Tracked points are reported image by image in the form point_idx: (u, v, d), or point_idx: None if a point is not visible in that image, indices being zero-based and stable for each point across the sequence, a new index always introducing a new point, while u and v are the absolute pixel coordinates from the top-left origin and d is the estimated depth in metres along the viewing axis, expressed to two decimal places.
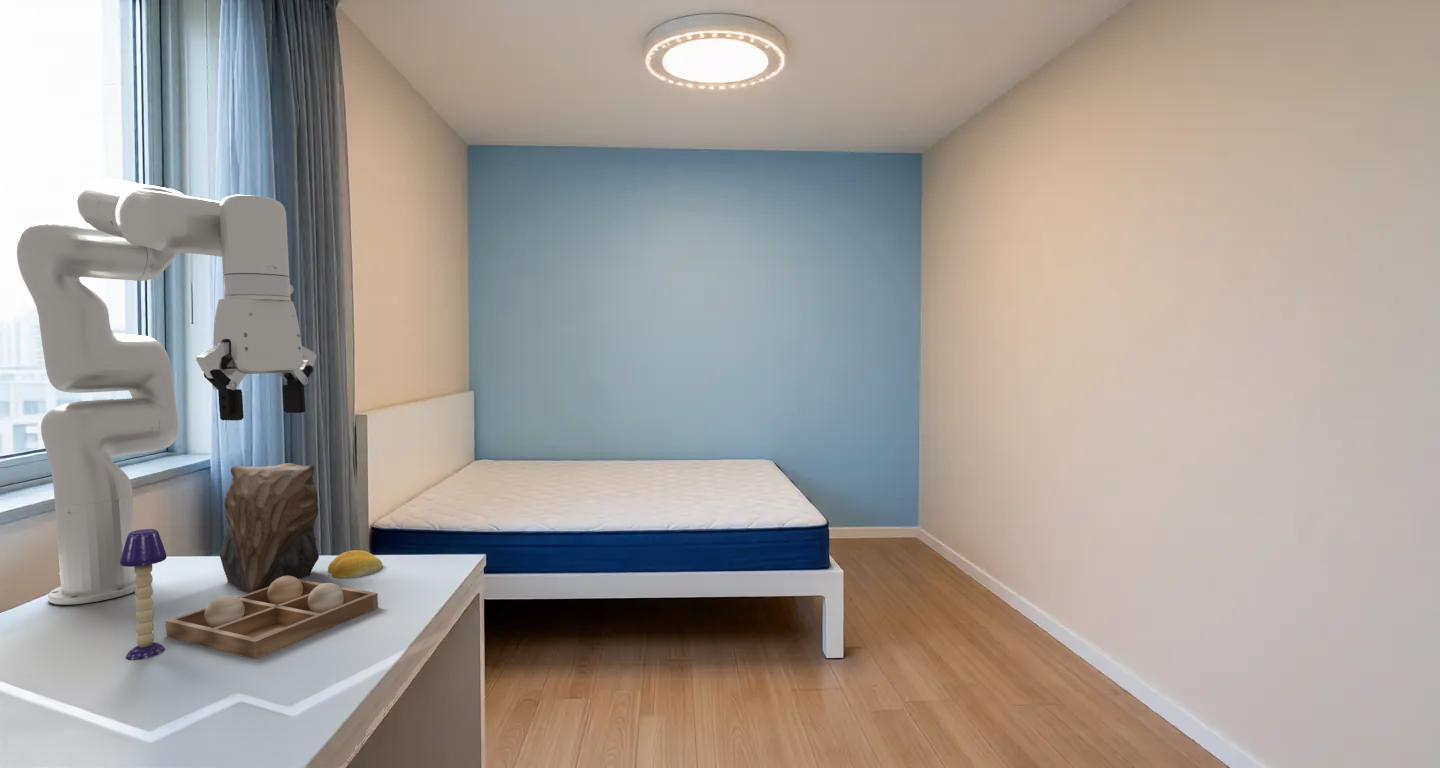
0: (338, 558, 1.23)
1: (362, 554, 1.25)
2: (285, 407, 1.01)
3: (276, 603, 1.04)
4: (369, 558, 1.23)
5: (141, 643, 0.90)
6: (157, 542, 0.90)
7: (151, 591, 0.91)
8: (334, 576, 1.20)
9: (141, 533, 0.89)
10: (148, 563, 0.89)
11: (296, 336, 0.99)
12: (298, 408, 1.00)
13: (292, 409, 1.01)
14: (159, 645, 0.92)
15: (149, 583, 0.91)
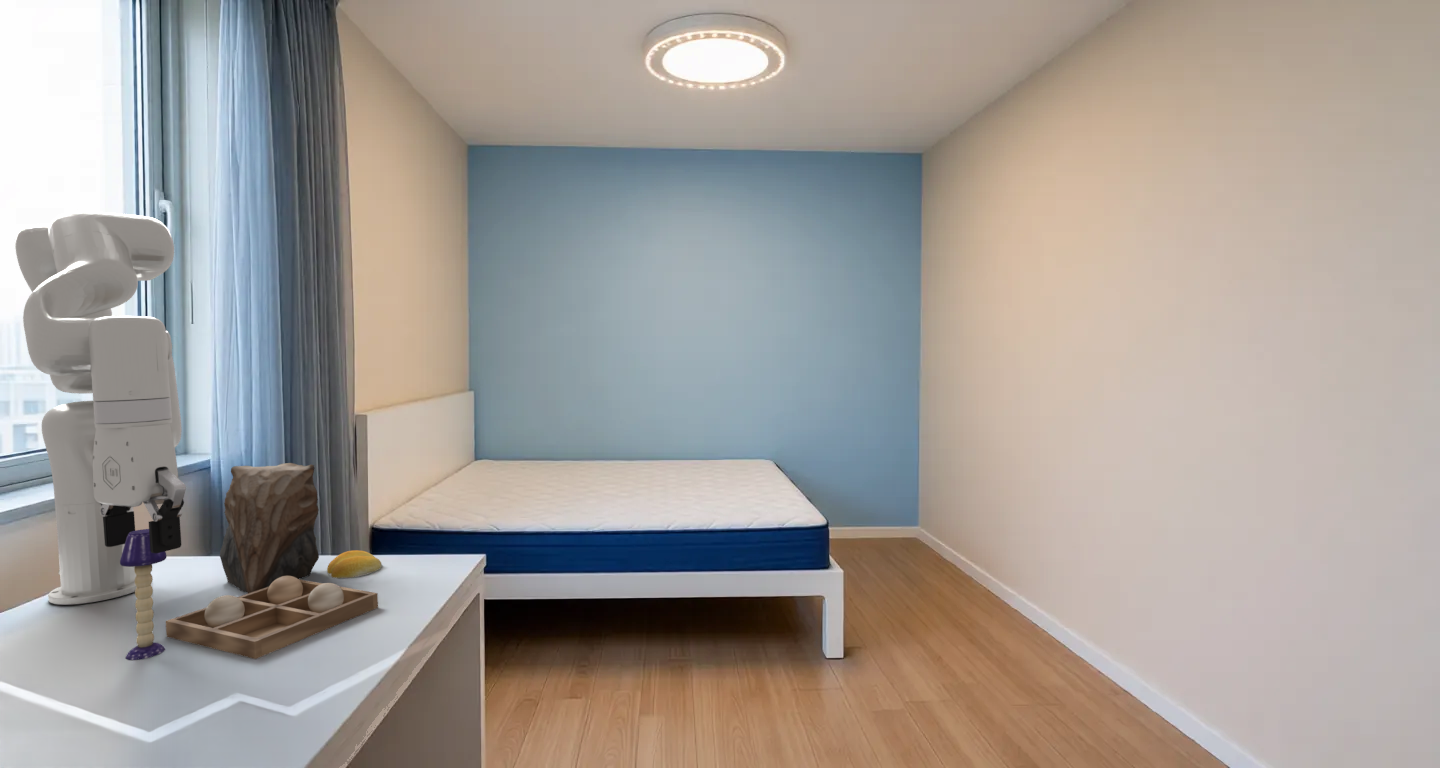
0: (337, 558, 1.23)
1: (361, 554, 1.25)
2: (111, 541, 0.91)
3: (276, 603, 1.04)
4: (368, 558, 1.23)
5: (141, 643, 0.90)
6: None
7: (151, 591, 0.91)
8: (333, 576, 1.20)
9: (141, 533, 0.89)
10: (148, 563, 0.89)
11: None
12: None
13: (123, 540, 0.92)
14: (159, 645, 0.92)
15: (149, 583, 0.91)
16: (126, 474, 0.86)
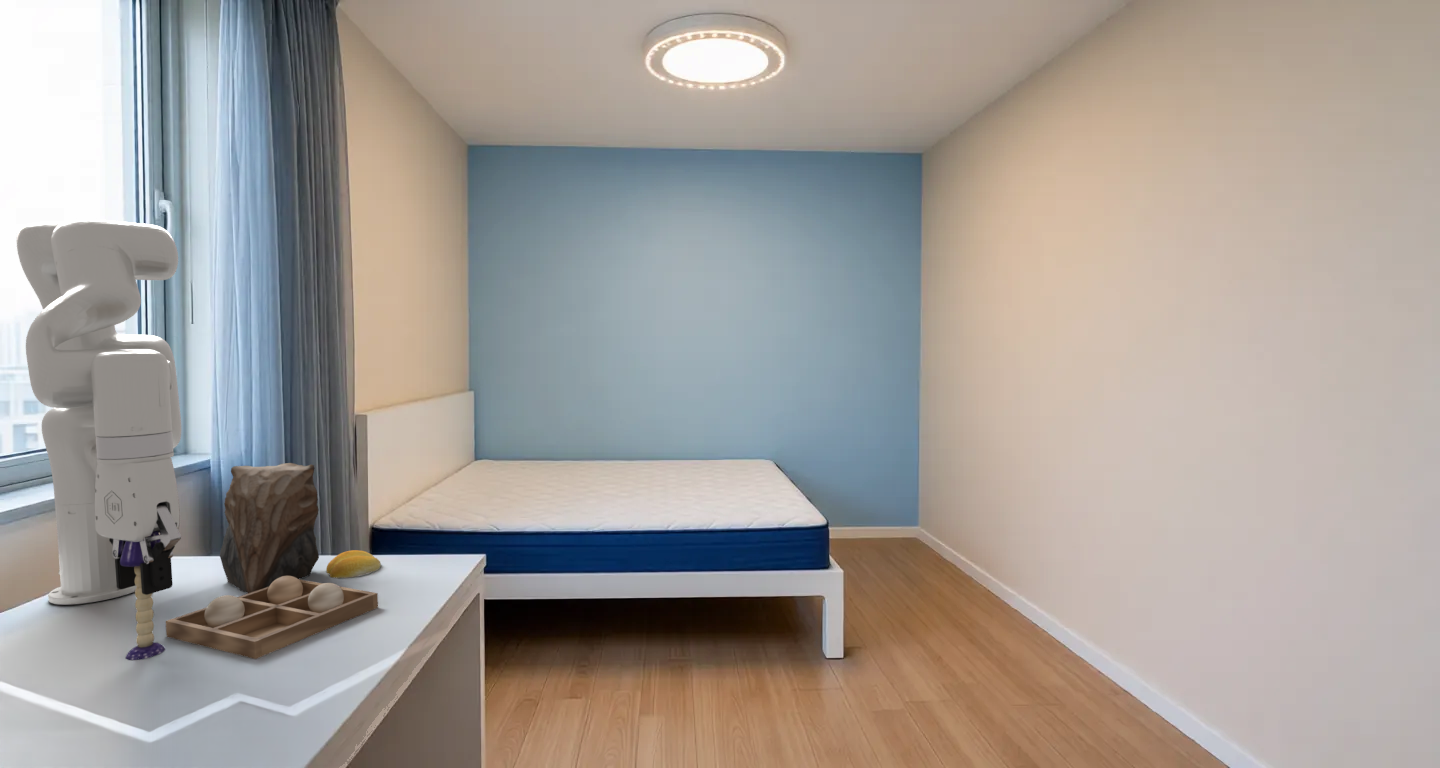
0: (336, 558, 1.23)
1: (361, 554, 1.25)
2: (123, 583, 0.91)
3: (276, 603, 1.04)
4: (367, 558, 1.23)
5: (141, 643, 0.90)
6: (157, 542, 0.90)
7: None
8: (332, 576, 1.20)
9: None
10: None
11: None
12: None
13: None
14: (159, 645, 0.92)
15: None
16: (128, 509, 0.86)
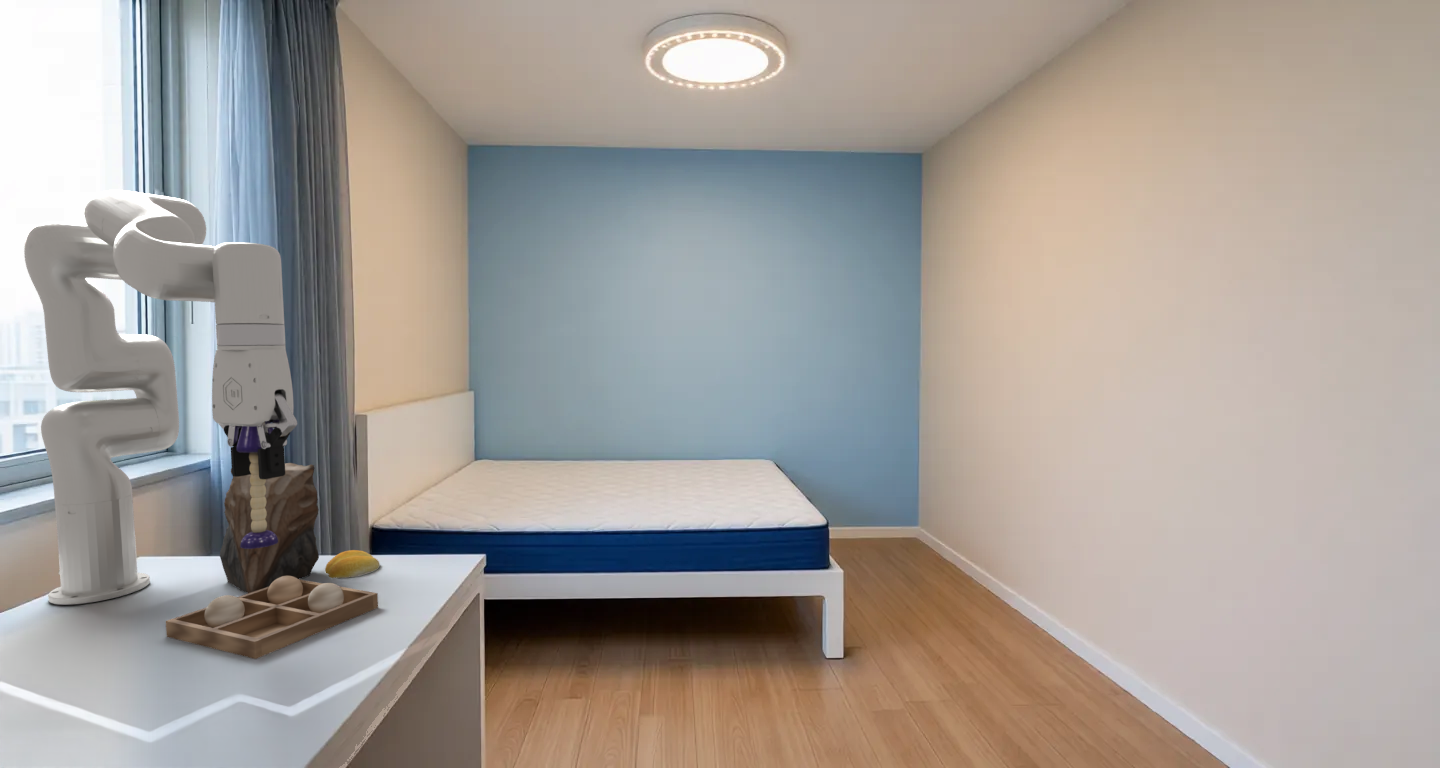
0: (335, 558, 1.23)
1: (359, 553, 1.25)
2: (238, 471, 0.93)
3: (276, 603, 1.04)
4: (366, 558, 1.23)
5: (256, 529, 0.93)
6: (270, 431, 0.93)
7: (264, 479, 0.94)
8: (331, 576, 1.20)
9: None
10: None
11: None
12: None
13: (248, 471, 0.95)
14: (271, 532, 0.94)
15: None
16: (248, 394, 0.89)
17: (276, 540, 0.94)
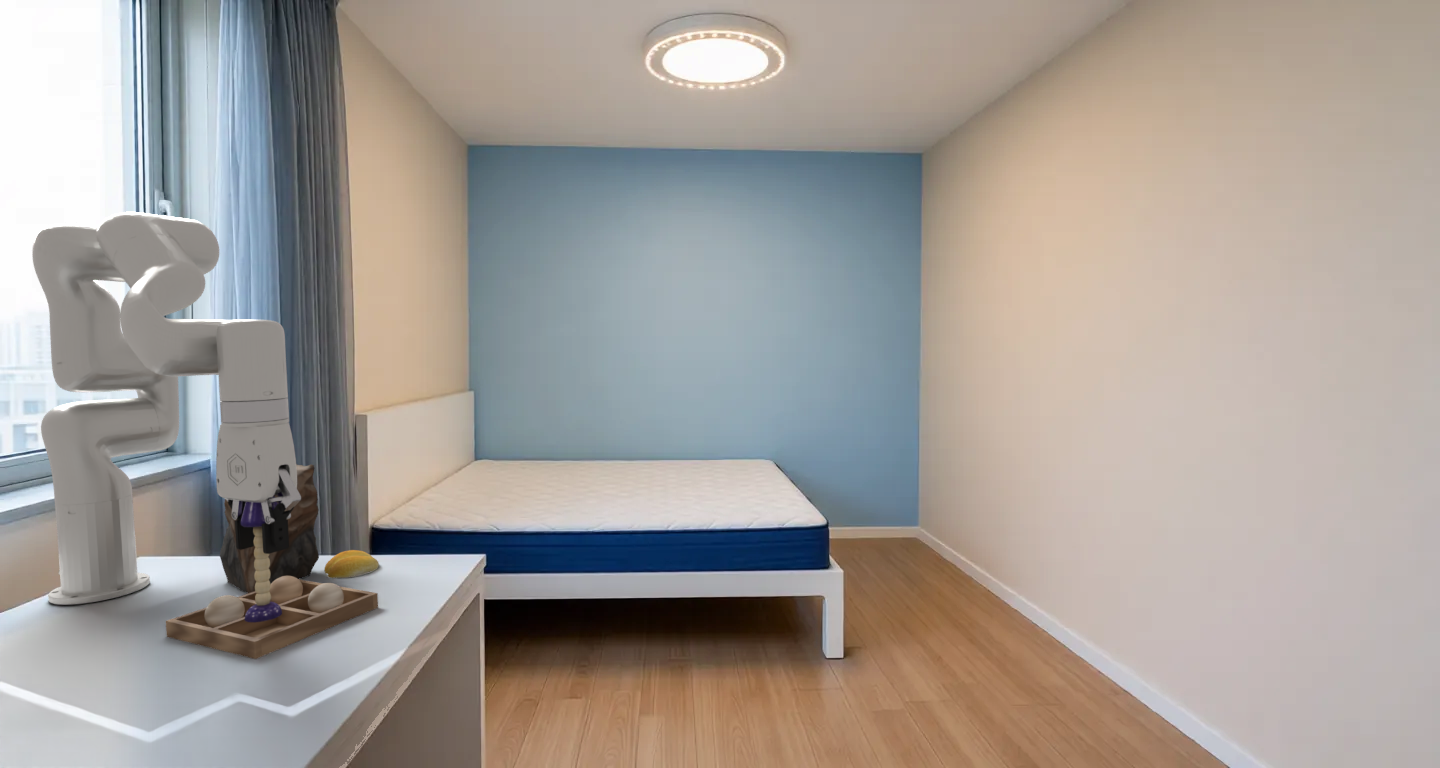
0: (335, 558, 1.23)
1: (359, 553, 1.25)
2: (242, 543, 0.94)
3: None
4: (365, 558, 1.23)
5: (260, 602, 0.94)
6: (274, 504, 0.94)
7: None
8: (330, 576, 1.20)
9: None
10: None
11: None
12: None
13: (252, 543, 0.95)
14: (275, 604, 0.95)
15: None
16: (252, 471, 0.90)
17: (280, 612, 0.95)
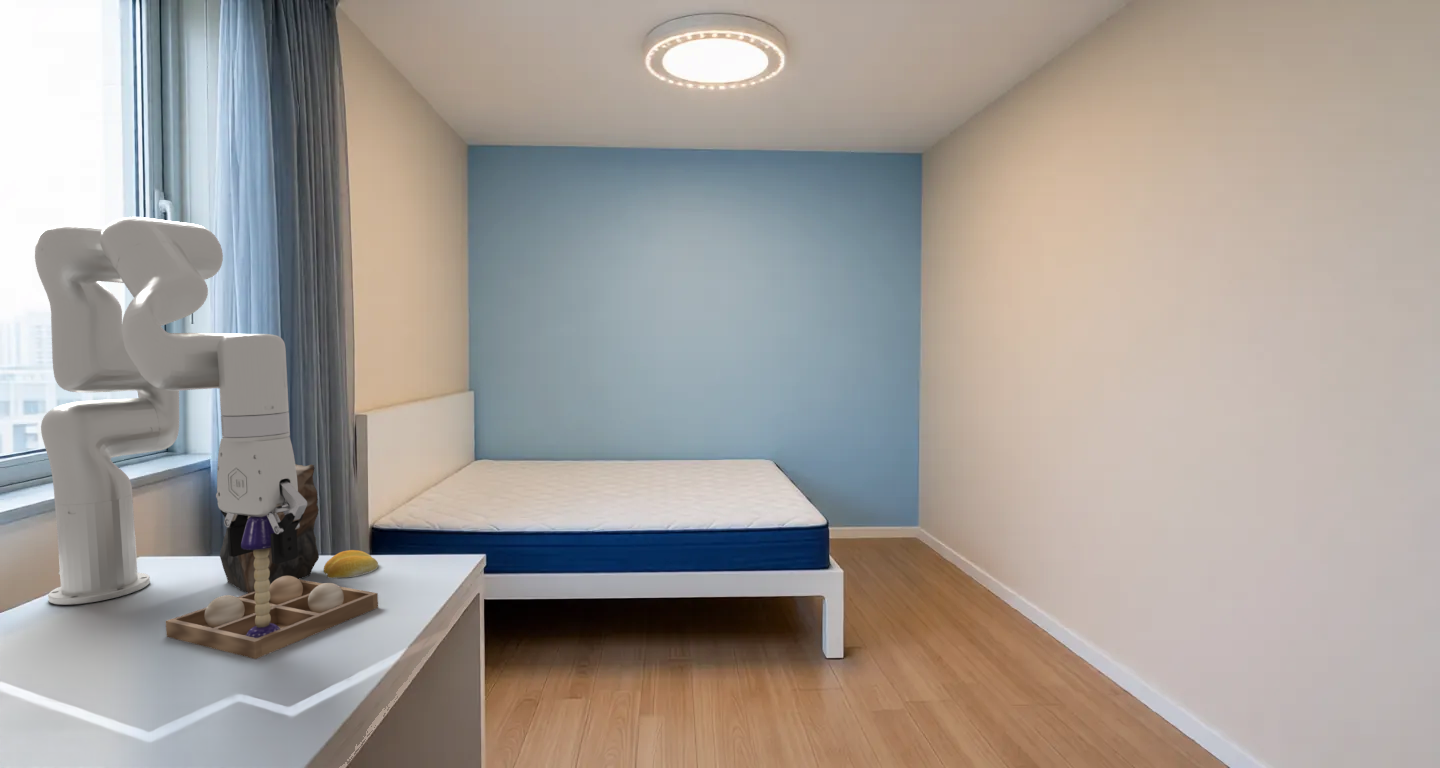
0: (334, 558, 1.23)
1: (358, 553, 1.25)
2: (235, 551, 0.95)
3: (276, 603, 1.04)
4: (365, 558, 1.23)
5: (260, 624, 0.94)
6: None
7: (268, 573, 0.95)
8: (329, 576, 1.20)
9: (261, 518, 0.93)
10: (268, 546, 0.93)
11: None
12: None
13: (245, 550, 0.96)
14: (275, 625, 0.95)
15: (267, 566, 0.94)
16: (253, 486, 0.90)
17: None
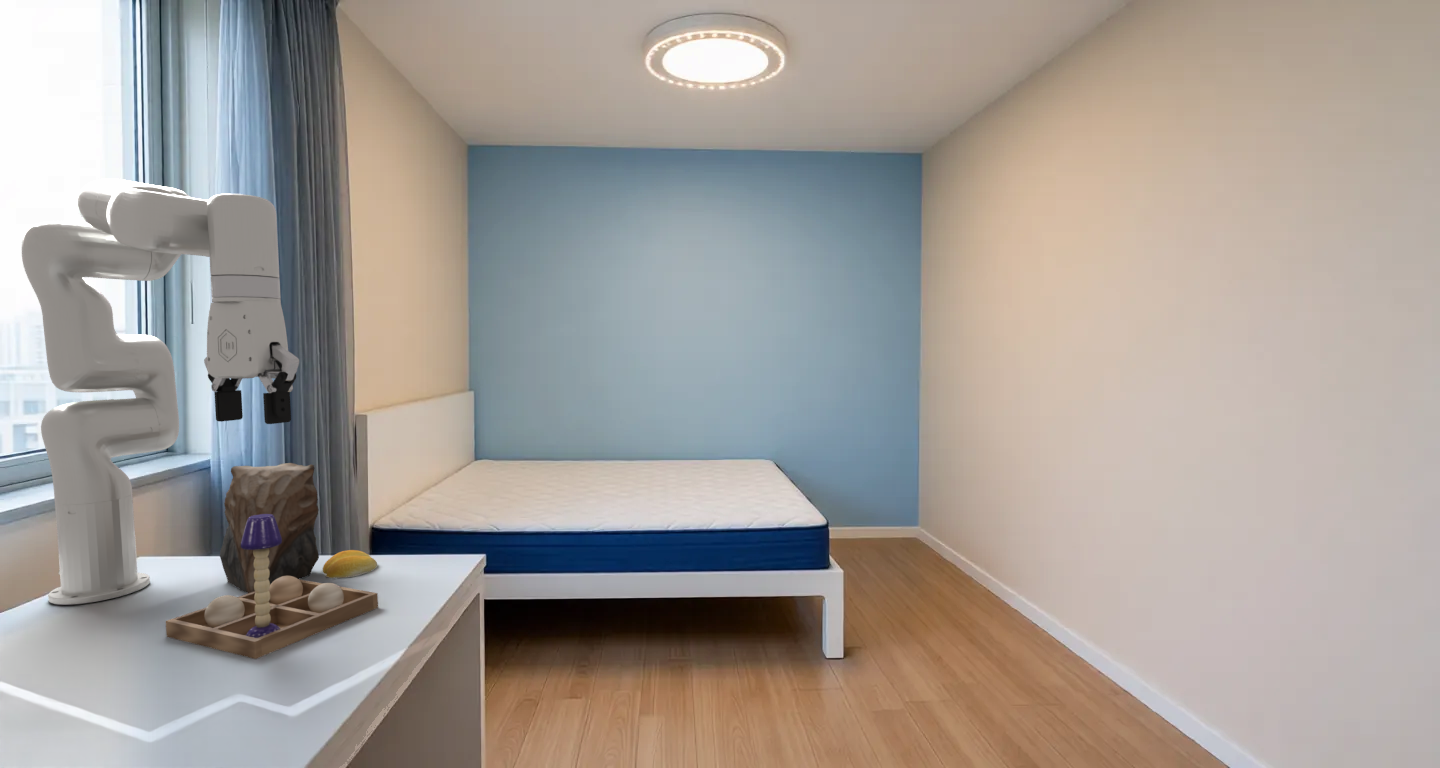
0: (333, 558, 1.23)
1: (357, 553, 1.25)
2: (222, 415, 0.94)
3: (276, 603, 1.04)
4: (363, 558, 1.23)
5: (260, 624, 0.94)
6: (274, 527, 0.94)
7: (268, 573, 0.95)
8: (328, 576, 1.20)
9: (260, 518, 0.93)
10: (268, 546, 0.93)
11: None
12: (240, 414, 0.96)
13: (232, 416, 0.95)
14: (275, 625, 0.95)
15: (267, 566, 0.94)
16: (243, 346, 0.89)
17: None
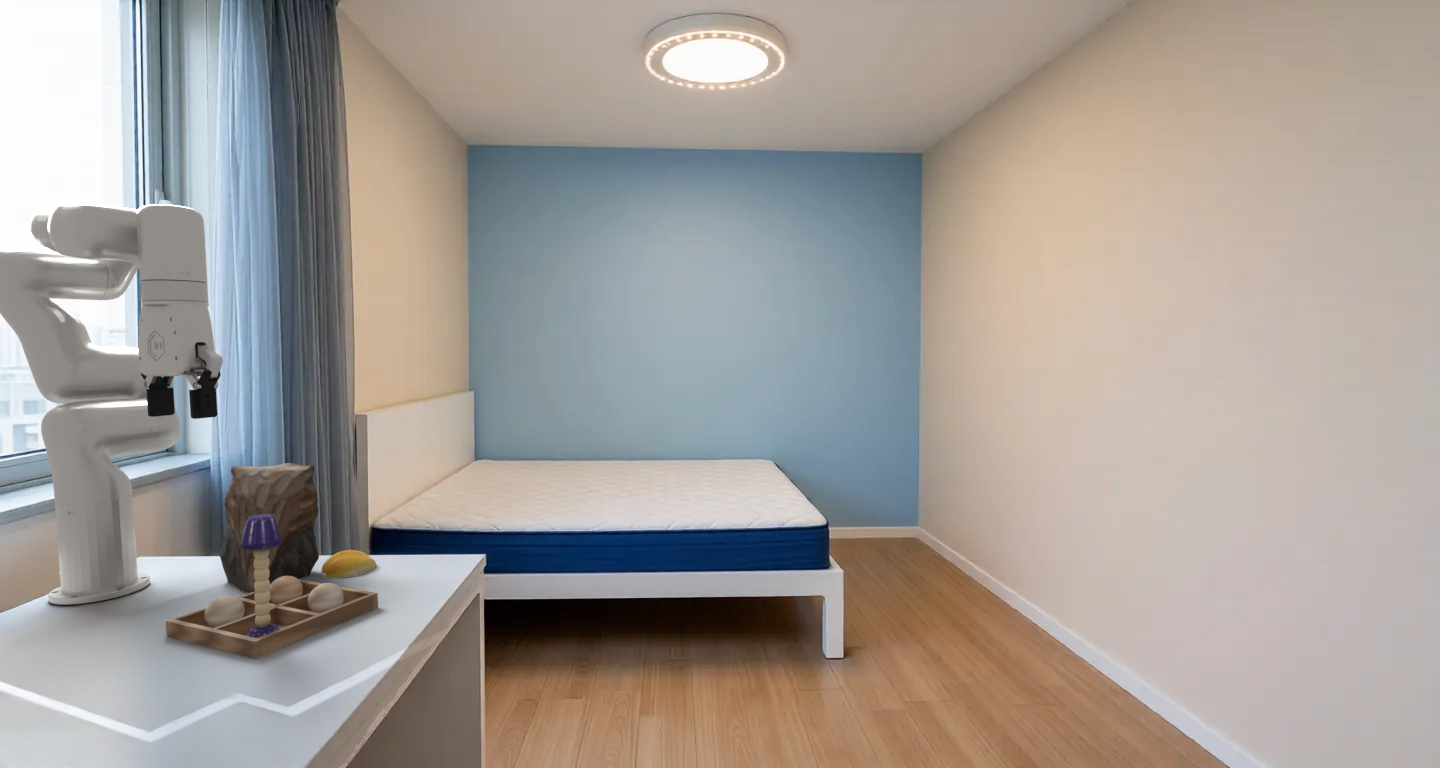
0: (332, 558, 1.23)
1: (356, 553, 1.25)
2: (154, 411, 1.01)
3: (276, 603, 1.04)
4: (362, 558, 1.23)
5: (260, 624, 0.94)
6: (274, 527, 0.94)
7: (268, 574, 0.95)
8: (327, 576, 1.20)
9: (261, 518, 0.93)
10: (268, 546, 0.93)
11: None
12: (171, 410, 1.03)
13: (164, 412, 1.02)
14: (275, 625, 0.95)
15: (267, 566, 0.94)
16: (169, 346, 0.96)
17: None
